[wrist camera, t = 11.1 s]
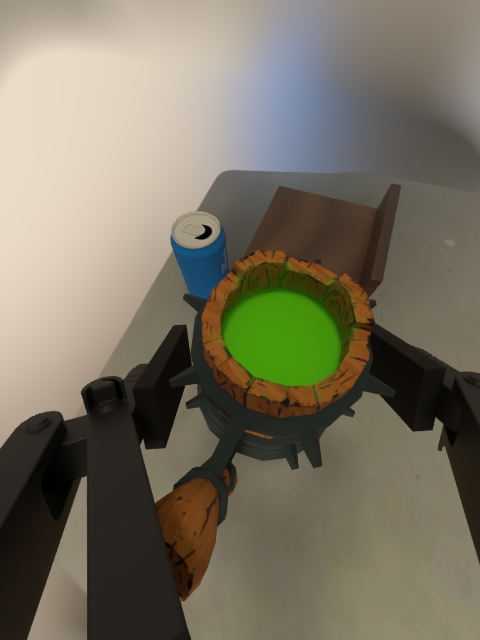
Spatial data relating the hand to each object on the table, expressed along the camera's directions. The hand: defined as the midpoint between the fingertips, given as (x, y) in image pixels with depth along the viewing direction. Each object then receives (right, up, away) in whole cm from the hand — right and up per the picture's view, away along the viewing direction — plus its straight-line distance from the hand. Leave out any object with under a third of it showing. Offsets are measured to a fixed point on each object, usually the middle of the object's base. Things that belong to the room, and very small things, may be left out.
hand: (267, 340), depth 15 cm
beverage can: (-6, +6, +25) cm, 26 cm away
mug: (0, -5, +3) cm, 5 cm away
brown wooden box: (+9, +10, +26) cm, 29 cm away
